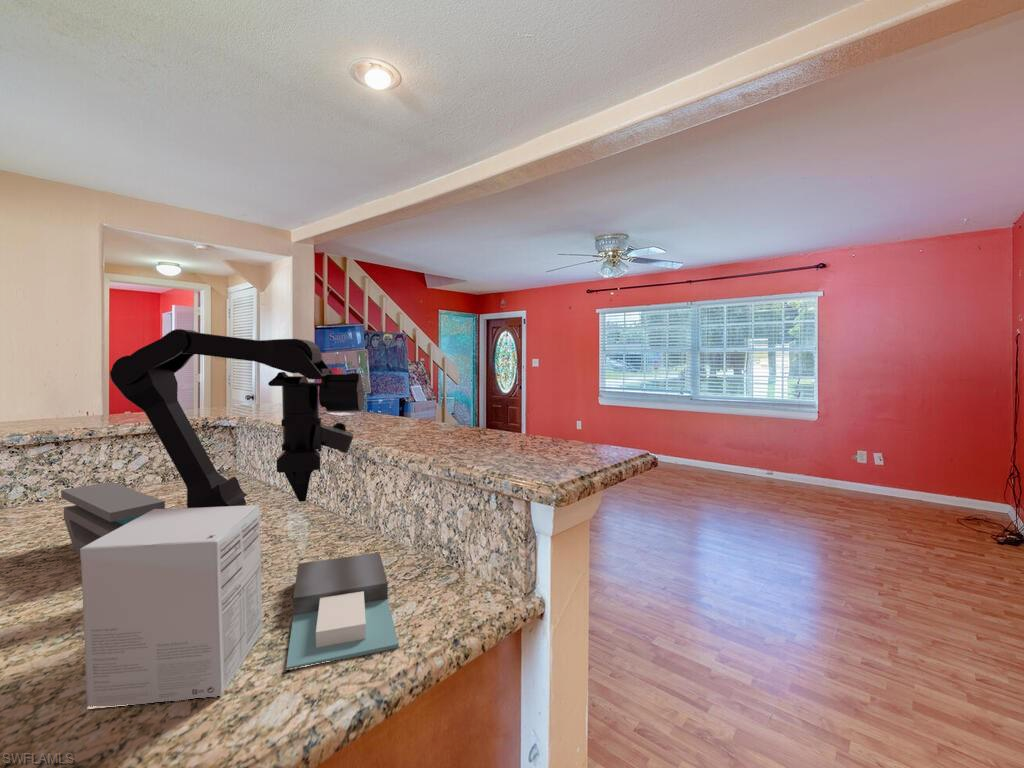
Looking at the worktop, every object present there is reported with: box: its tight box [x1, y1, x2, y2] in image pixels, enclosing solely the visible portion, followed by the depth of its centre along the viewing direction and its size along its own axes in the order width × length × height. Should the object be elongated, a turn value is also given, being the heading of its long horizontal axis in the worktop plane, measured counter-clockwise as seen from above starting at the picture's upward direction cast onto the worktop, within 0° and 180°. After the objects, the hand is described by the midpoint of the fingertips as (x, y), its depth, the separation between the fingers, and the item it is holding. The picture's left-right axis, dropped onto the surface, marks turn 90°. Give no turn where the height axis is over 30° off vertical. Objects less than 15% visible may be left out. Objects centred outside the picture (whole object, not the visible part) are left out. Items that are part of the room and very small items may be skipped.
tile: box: [316, 591, 366, 648], centre depth 64 cm, size 6×9×2 cm, turn 19°
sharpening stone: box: [60, 480, 166, 556], centre depth 88 cm, size 25×8×11 cm, turn 58°
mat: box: [285, 598, 400, 670], centre depth 63 cm, size 13×12×1 cm
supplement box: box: [79, 504, 263, 707], centre depth 56 cm, size 13×13×18 cm
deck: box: [292, 551, 389, 615], centre depth 74 cm, size 13×12×3 cm
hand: (302, 501), depth 82 cm, fingers closed
